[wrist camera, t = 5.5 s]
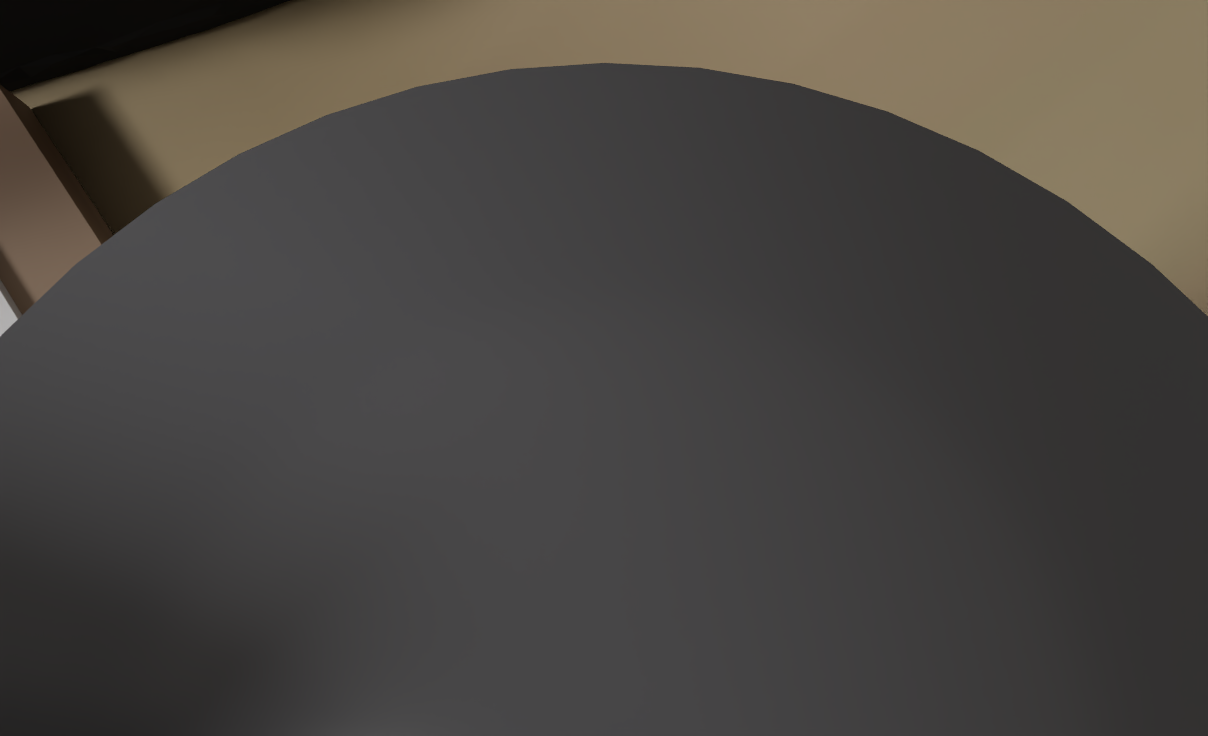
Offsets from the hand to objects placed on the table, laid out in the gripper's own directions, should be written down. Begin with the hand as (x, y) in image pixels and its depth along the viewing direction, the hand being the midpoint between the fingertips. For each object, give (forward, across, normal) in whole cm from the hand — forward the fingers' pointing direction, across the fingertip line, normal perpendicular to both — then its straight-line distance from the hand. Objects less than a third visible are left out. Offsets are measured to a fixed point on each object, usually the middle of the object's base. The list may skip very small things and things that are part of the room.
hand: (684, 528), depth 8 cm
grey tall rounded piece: (+4, 0, +6) cm, 7 cm away
